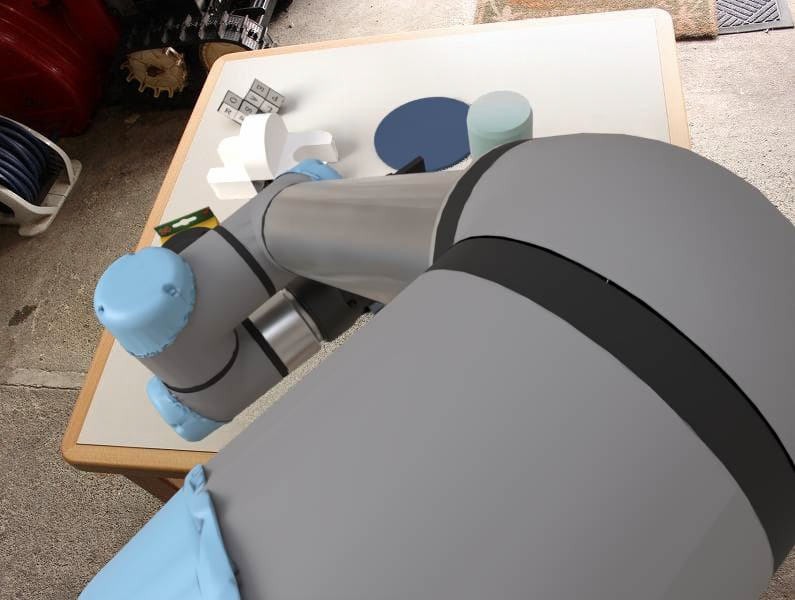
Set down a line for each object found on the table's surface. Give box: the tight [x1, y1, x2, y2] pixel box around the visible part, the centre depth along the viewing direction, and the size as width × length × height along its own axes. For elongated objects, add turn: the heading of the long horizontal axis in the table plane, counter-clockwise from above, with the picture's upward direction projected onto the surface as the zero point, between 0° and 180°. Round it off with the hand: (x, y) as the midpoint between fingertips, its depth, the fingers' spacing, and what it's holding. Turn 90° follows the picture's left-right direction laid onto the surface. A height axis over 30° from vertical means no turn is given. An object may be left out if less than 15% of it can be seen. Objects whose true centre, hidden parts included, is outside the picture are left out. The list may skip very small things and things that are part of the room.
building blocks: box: [216, 77, 286, 126], centre depth 98 cm, size 5×5×8 cm
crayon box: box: [153, 205, 221, 246], centre depth 77 cm, size 7×3×12 cm, turn 112°
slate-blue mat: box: [373, 96, 471, 173], centre depth 91 cm, size 16×16×1 cm
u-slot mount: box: [206, 112, 340, 201], centre depth 88 cm, size 18×10×10 cm, turn 84°
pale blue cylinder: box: [467, 90, 534, 162], centre depth 68 cm, size 6×6×20 cm
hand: (464, 195), depth 65 cm, fingers open, 13 cm apart
